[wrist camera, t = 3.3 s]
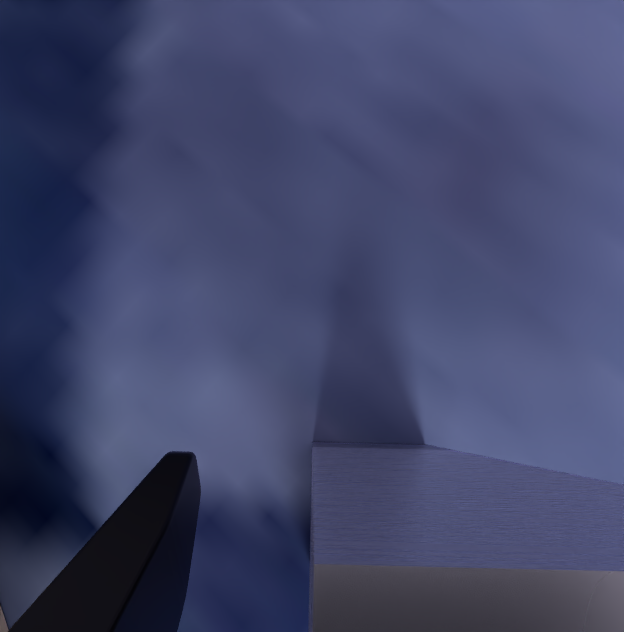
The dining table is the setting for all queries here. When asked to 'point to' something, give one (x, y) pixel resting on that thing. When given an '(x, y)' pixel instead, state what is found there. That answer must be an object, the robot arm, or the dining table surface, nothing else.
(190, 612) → the dining table surface
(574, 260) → the dining table surface
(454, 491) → the square bit
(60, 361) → the dining table surface
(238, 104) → the dining table surface
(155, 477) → the robot arm
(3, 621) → the socket block
